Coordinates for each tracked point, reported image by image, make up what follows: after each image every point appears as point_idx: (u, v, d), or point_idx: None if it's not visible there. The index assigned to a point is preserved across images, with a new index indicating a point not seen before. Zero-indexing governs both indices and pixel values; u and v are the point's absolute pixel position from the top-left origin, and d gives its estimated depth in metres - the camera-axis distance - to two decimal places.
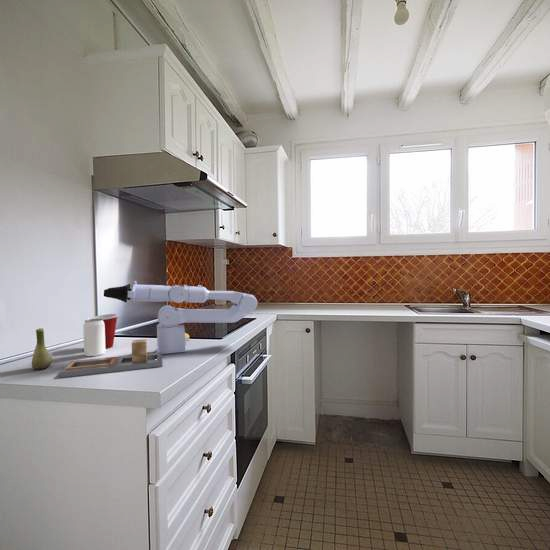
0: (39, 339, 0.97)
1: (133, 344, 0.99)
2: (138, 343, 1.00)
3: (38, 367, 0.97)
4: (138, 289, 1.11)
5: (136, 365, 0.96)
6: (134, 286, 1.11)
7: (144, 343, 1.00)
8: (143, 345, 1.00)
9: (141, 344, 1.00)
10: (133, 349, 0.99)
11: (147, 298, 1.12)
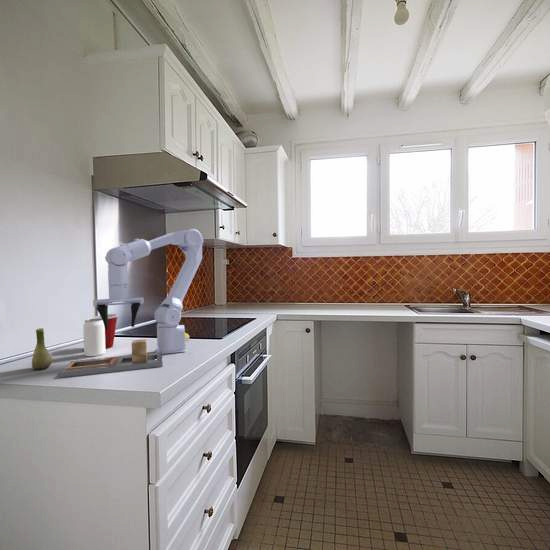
0: (39, 339, 0.97)
1: (133, 344, 0.99)
2: (138, 343, 1.00)
3: (38, 367, 0.97)
4: (127, 295, 1.06)
5: (136, 365, 0.96)
6: (126, 300, 1.05)
7: (144, 343, 1.00)
8: (143, 345, 1.00)
9: (141, 344, 1.00)
10: (133, 349, 0.99)
11: None
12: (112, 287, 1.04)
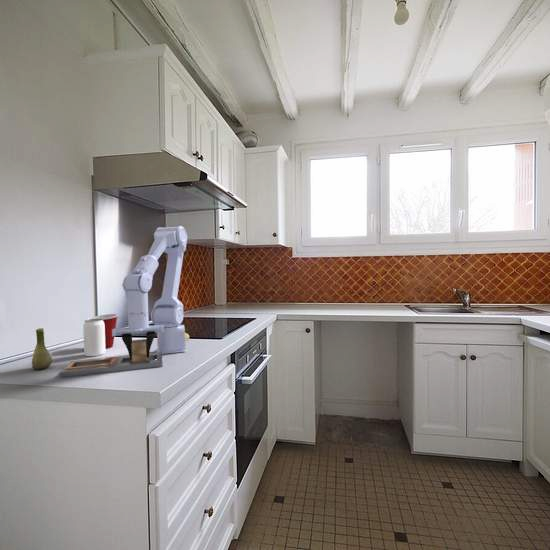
0: (39, 339, 0.97)
1: (133, 344, 0.99)
2: (138, 343, 1.00)
3: (38, 367, 0.97)
4: (147, 324, 1.01)
5: (136, 365, 0.96)
6: (147, 329, 1.00)
7: (144, 343, 1.00)
8: (143, 345, 1.00)
9: (141, 344, 1.00)
10: (133, 349, 0.99)
11: None
12: (132, 316, 0.99)
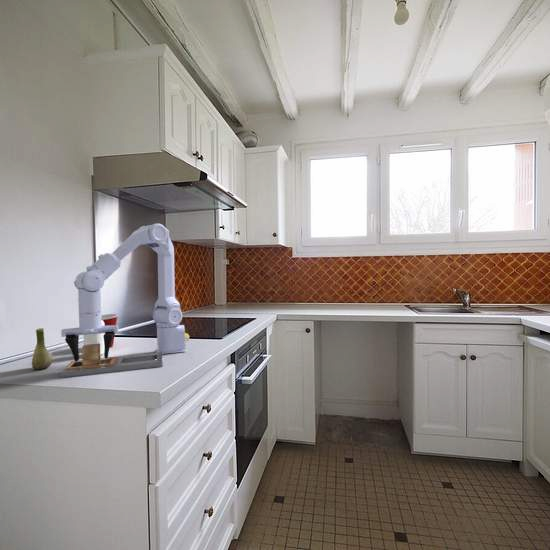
0: (39, 339, 0.97)
1: (84, 349, 0.95)
2: (89, 347, 0.95)
3: (38, 367, 0.97)
4: (99, 324, 0.97)
5: (136, 365, 0.96)
6: (98, 329, 0.96)
7: (95, 347, 0.96)
8: (94, 350, 0.96)
9: (92, 348, 0.96)
10: (84, 354, 0.95)
11: None
12: (82, 316, 0.95)
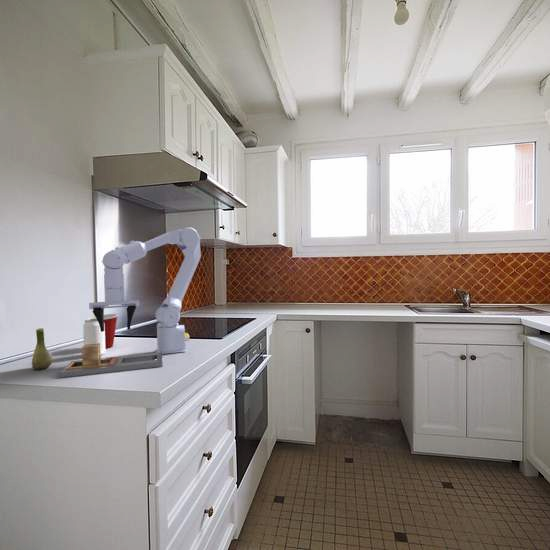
0: (39, 339, 0.97)
1: (84, 349, 0.95)
2: (89, 347, 0.95)
3: (38, 367, 0.97)
4: (123, 298, 1.07)
5: (136, 365, 0.96)
6: (122, 303, 1.06)
7: (96, 347, 0.96)
8: (94, 350, 0.96)
9: (92, 348, 0.96)
10: (84, 354, 0.95)
11: None
12: (108, 290, 1.05)
